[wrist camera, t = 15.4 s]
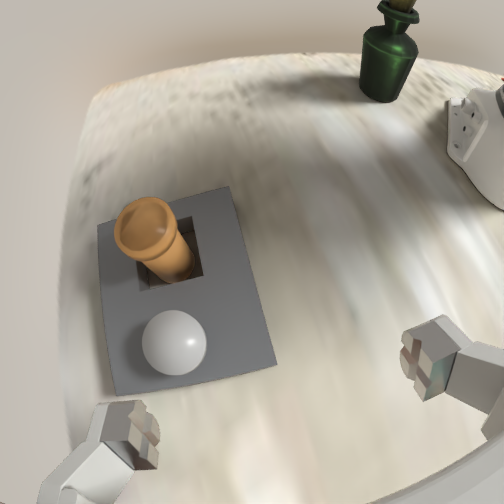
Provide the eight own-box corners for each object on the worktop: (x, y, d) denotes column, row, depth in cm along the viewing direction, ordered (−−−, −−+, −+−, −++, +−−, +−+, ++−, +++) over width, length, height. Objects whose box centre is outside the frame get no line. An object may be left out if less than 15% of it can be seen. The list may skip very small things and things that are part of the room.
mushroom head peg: (160, 236, 33) (128, 193, 25) (204, 245, 32) (182, 202, 24) (145, 280, 31) (105, 248, 23) (190, 292, 30) (160, 262, 22)
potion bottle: (389, 114, 38) (422, 11, 22) (344, 87, 41) (360, -15, 24) (409, 93, 40) (439, 3, 24) (368, 70, 43) (386, -20, 26)
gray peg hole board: (109, 236, 34) (84, 212, 28) (232, 201, 34) (225, 168, 29) (129, 394, 27) (100, 397, 21) (276, 365, 27) (278, 363, 22)
